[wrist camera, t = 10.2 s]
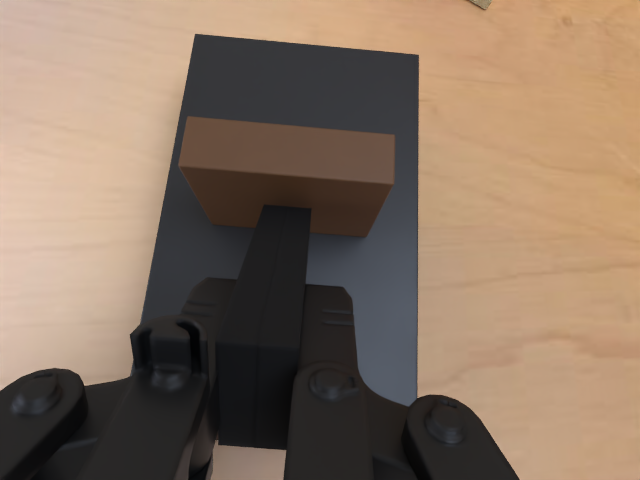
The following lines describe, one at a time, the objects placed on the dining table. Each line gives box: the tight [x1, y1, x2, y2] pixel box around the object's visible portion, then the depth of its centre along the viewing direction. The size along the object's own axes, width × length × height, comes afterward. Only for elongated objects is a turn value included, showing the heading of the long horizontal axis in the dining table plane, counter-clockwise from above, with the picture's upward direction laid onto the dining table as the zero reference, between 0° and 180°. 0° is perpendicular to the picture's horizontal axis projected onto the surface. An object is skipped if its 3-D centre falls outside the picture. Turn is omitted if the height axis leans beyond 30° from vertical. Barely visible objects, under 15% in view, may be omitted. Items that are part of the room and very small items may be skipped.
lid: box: [130, 34, 419, 407], centre depth 15 cm, size 16×10×6 cm, turn 176°
